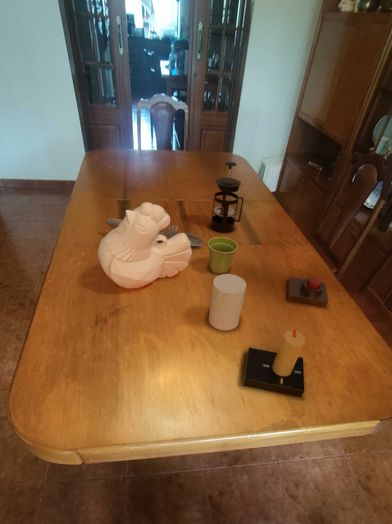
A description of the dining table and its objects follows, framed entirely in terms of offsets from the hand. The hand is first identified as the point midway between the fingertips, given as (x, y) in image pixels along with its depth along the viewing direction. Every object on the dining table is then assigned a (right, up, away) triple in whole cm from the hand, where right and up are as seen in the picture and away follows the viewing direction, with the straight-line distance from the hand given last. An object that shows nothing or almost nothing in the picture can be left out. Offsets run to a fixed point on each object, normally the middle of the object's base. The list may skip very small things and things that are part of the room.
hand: (381, 229), depth 81 cm
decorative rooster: (-62, -10, +16) cm, 65 cm away
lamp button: (-12, -12, +14) cm, 22 cm away
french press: (-37, +17, +44) cm, 60 cm away
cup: (-40, -23, +6) cm, 46 cm away
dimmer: (-29, -37, -7) cm, 47 cm away
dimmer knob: (-28, -35, -9) cm, 46 cm away
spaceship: (-62, +7, +33) cm, 70 cm away
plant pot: (-40, -4, +23) cm, 46 cm away
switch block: (-13, -14, +17) cm, 25 cm away
